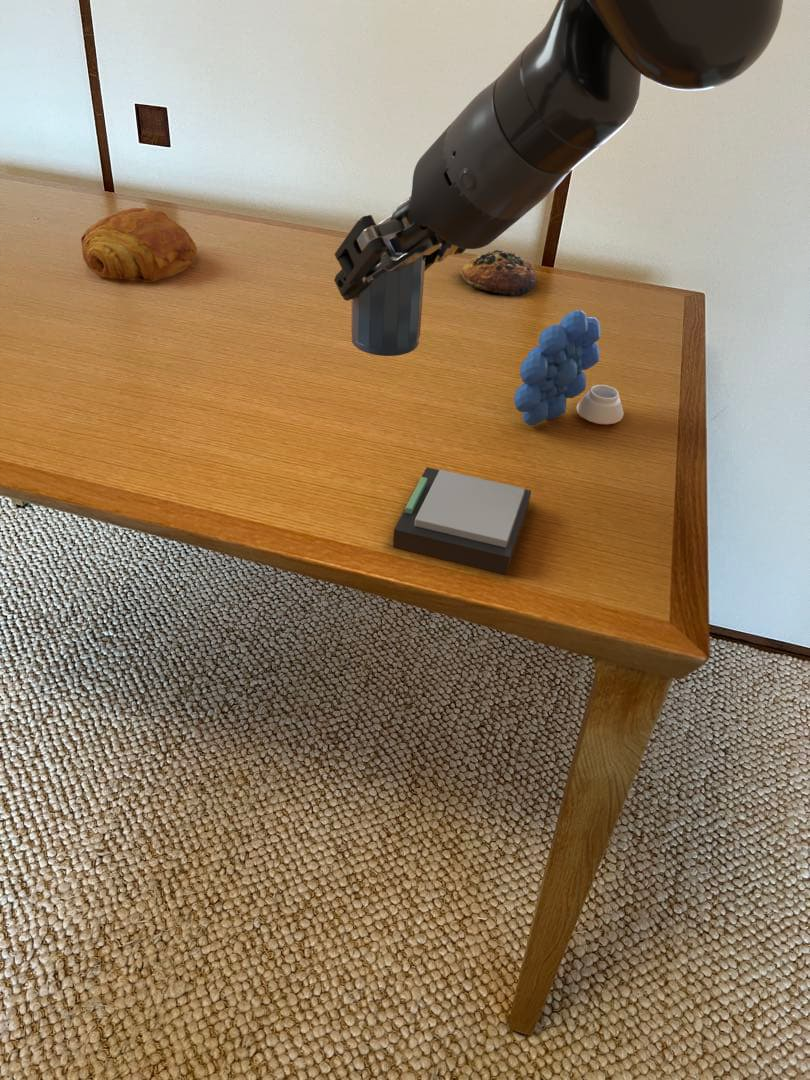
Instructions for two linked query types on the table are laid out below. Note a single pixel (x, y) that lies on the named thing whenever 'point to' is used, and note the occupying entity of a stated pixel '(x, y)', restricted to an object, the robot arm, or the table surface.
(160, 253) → the croissant
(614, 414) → the white jar
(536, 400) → the grapes
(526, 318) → the table surface
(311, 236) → the table surface
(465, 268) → the bread roll
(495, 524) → the scale
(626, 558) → the table surface
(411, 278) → the cup
